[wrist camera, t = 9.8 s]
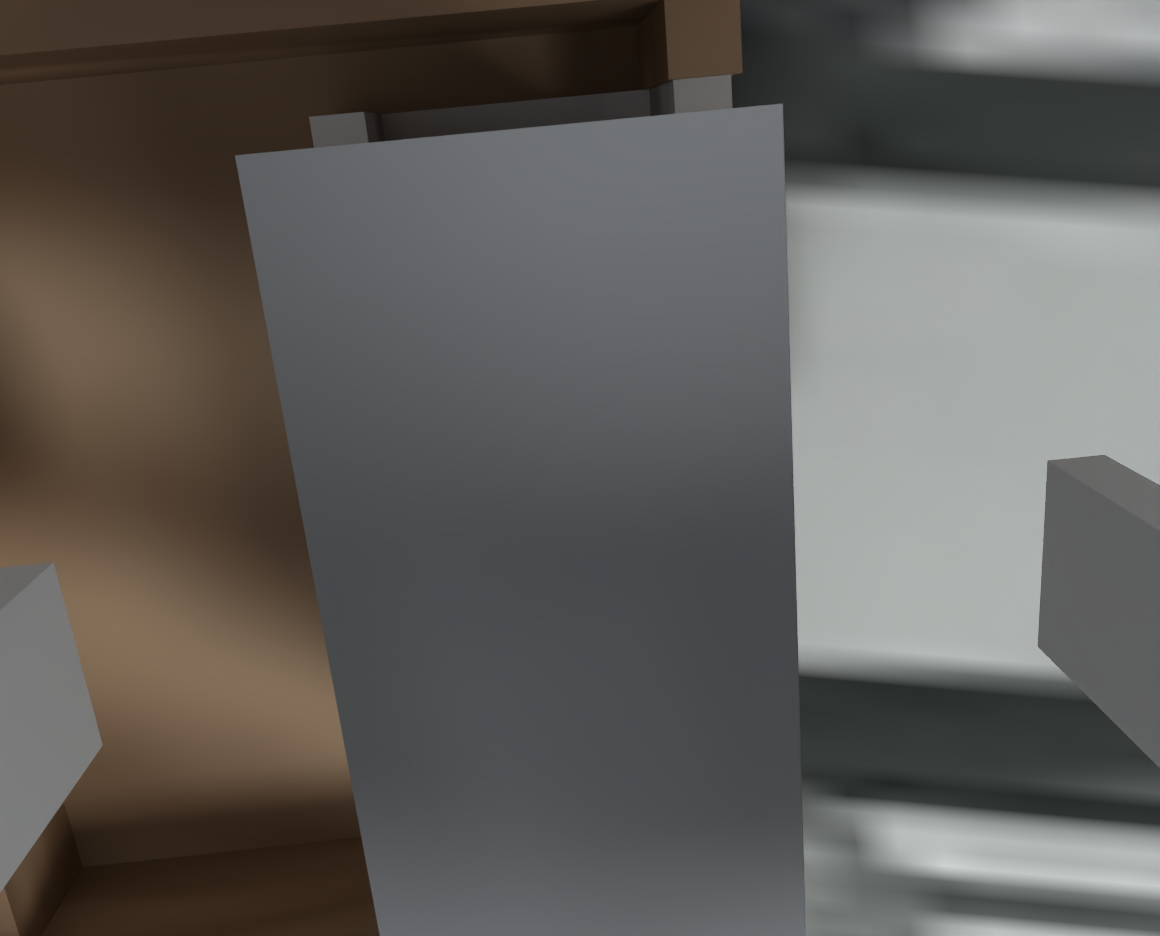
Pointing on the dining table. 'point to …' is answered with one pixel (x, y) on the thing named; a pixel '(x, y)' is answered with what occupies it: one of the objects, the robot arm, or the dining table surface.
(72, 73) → the carcass
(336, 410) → the door
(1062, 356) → the dining table surface
